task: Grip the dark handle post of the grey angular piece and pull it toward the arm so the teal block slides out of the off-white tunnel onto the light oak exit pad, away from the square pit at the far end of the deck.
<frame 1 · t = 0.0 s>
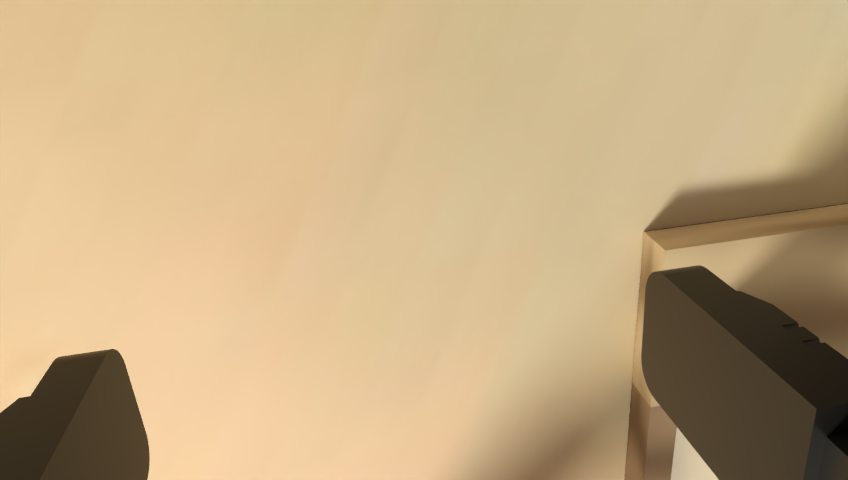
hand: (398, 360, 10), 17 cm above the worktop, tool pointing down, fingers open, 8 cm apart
deck: (731, 424, 36), on the worktop
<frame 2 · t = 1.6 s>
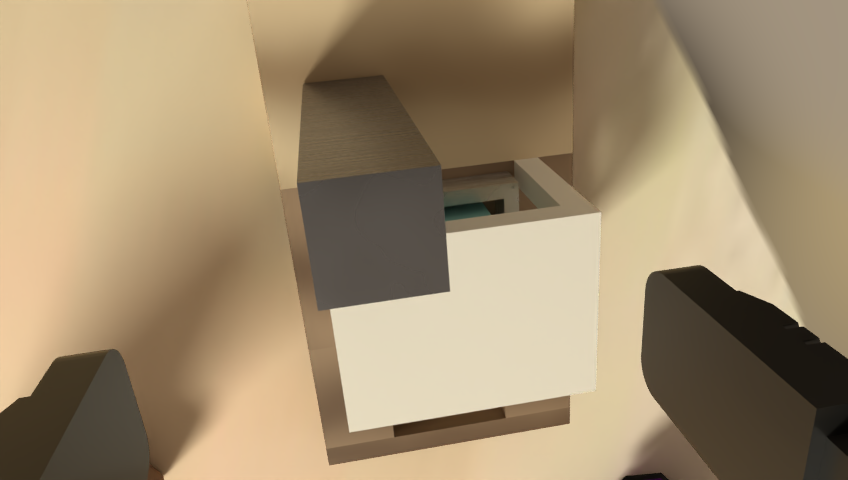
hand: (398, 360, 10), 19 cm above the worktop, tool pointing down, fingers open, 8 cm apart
grey angular piece: (444, 265, 21), point 8 cm above the worktop, slide at 0.0 cm
block: (436, 249, 28), point 2 cm above the worktop, touching deck
deck: (429, 241, 30), on the worktop
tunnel: (451, 283, 25), on the deck, point 5 cm above the worktop
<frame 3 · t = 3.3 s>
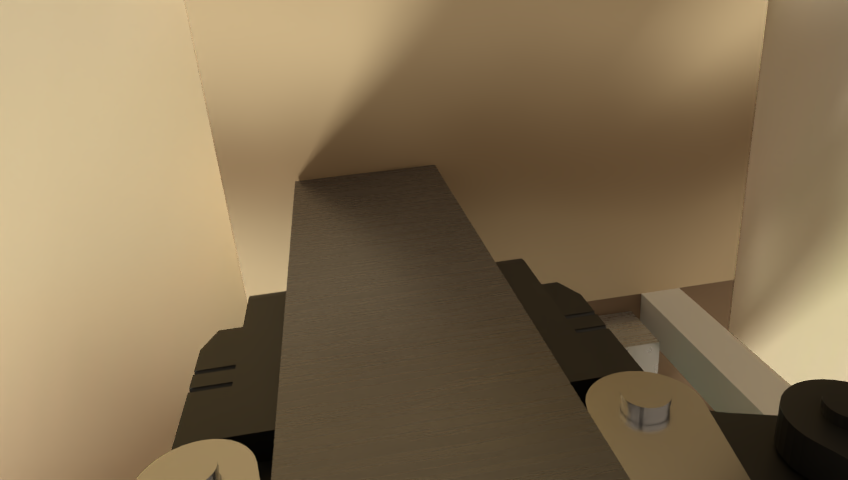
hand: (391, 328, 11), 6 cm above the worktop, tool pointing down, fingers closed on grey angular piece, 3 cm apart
deck: (491, 398, 19), on the worktop
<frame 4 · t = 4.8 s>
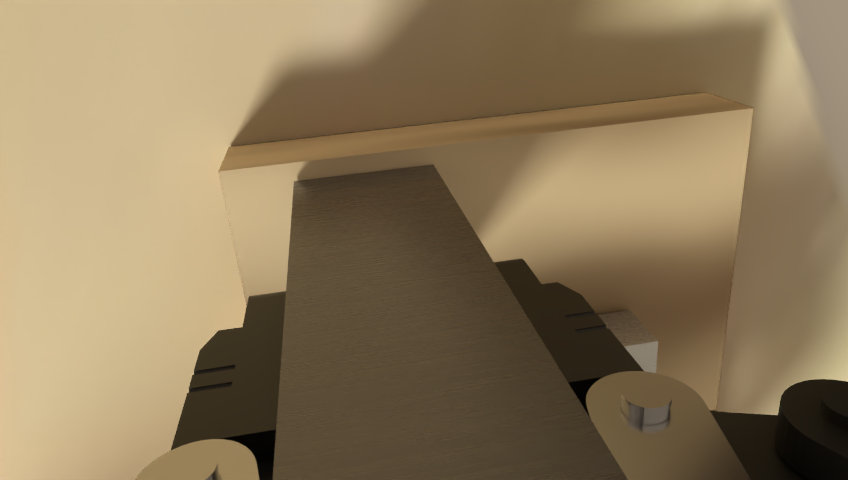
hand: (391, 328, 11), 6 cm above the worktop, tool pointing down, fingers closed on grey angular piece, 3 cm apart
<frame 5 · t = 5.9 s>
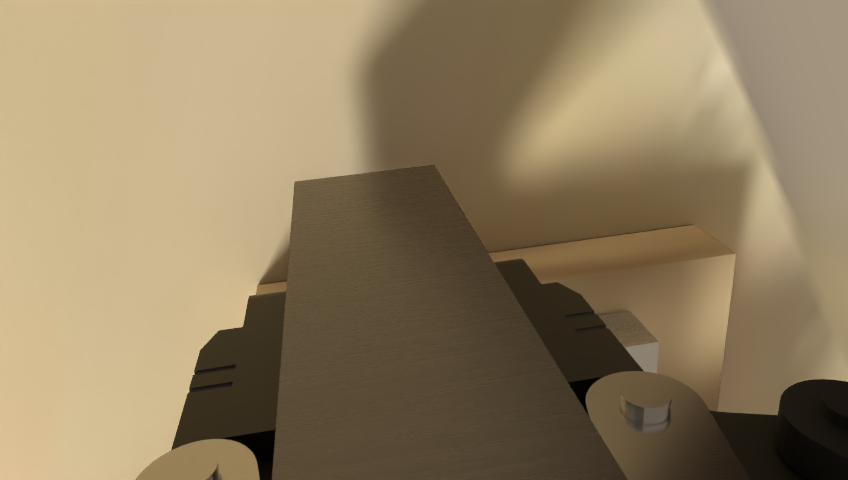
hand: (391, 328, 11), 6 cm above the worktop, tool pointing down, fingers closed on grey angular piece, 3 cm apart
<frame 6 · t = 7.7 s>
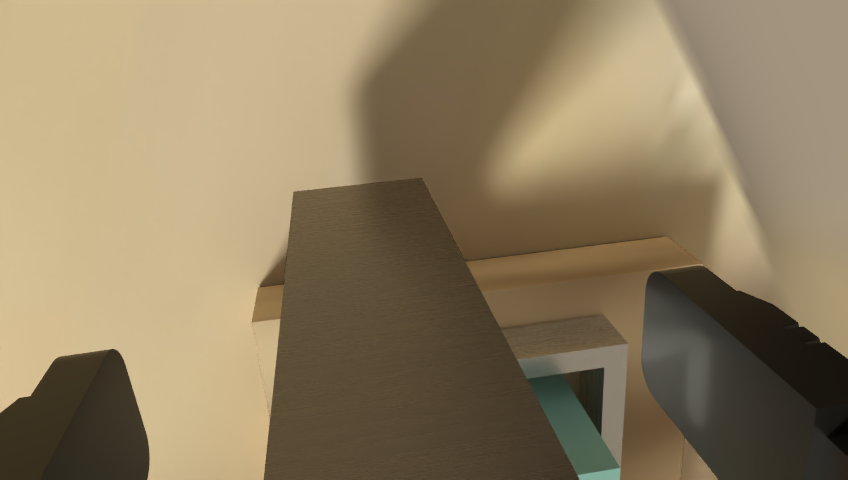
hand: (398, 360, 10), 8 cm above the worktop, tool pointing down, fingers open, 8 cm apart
block: (491, 438, 19), point 2 cm above the worktop, touching deck
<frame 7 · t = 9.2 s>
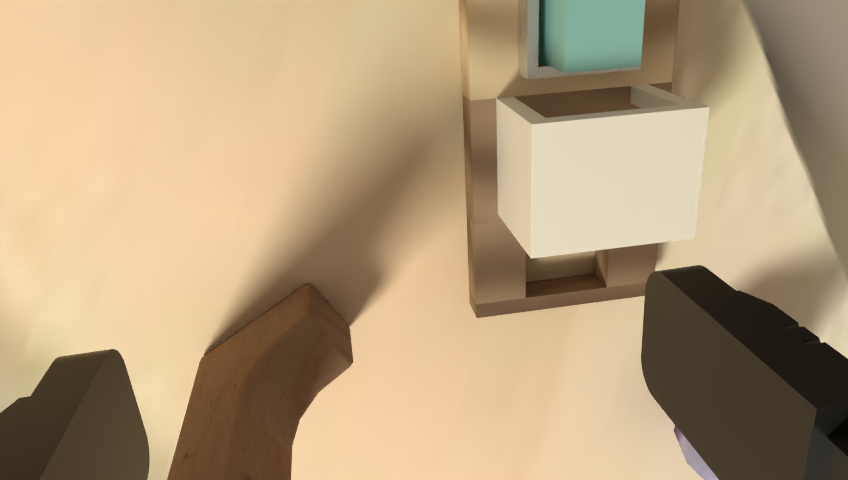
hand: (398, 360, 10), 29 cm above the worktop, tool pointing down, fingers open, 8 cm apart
wooden block: (276, 340, 43), on the worktop
potion bottle: (691, 377, 50), on the worktop
block: (575, 21, 36), point 2 cm above the worktop, touching deck
deck: (559, 150, 41), on the worktop
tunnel: (592, 166, 36), on the deck, point 5 cm above the worktop
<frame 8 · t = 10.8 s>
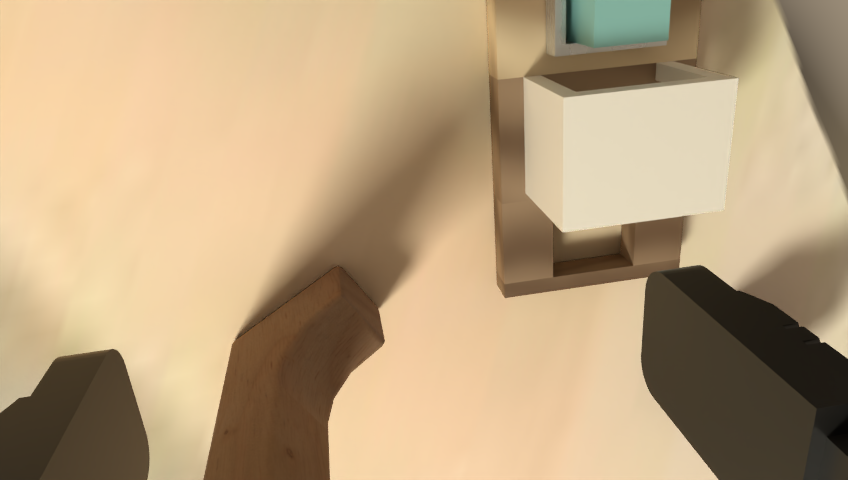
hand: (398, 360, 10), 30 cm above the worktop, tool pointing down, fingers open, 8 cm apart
wooden block: (306, 323, 44), on the worktop
deck: (584, 129, 41), on the worktop
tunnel: (620, 141, 36), on the deck, point 5 cm above the worktop
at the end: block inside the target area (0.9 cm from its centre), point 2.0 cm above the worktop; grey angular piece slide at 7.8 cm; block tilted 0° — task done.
